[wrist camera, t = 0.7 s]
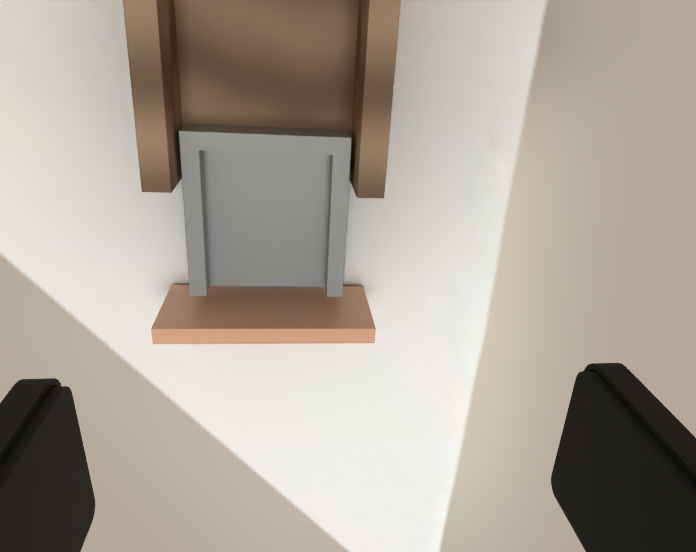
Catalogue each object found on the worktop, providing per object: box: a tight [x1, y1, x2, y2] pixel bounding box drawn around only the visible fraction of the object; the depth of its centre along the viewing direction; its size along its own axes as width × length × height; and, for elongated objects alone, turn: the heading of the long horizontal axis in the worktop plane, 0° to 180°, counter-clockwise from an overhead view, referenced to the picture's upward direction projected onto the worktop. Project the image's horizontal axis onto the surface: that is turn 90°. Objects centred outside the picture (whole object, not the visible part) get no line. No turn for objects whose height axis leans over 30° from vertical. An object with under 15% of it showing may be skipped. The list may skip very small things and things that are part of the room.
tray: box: [151, 124, 376, 344], centre depth 33 cm, size 12×13×6 cm
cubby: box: [123, 0, 401, 198], centre depth 30 cm, size 12×13×6 cm
